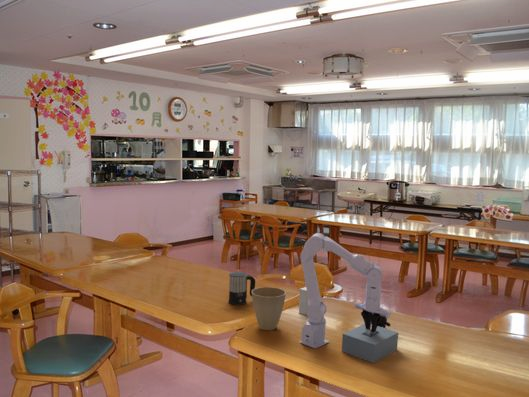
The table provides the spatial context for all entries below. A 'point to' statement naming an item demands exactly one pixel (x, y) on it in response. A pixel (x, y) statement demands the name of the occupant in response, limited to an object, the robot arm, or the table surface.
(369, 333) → the wooden block
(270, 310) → the plant pot
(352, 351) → the grey square hole block
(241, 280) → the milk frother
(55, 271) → the table surface
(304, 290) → the skincare box
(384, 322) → the toy ball
